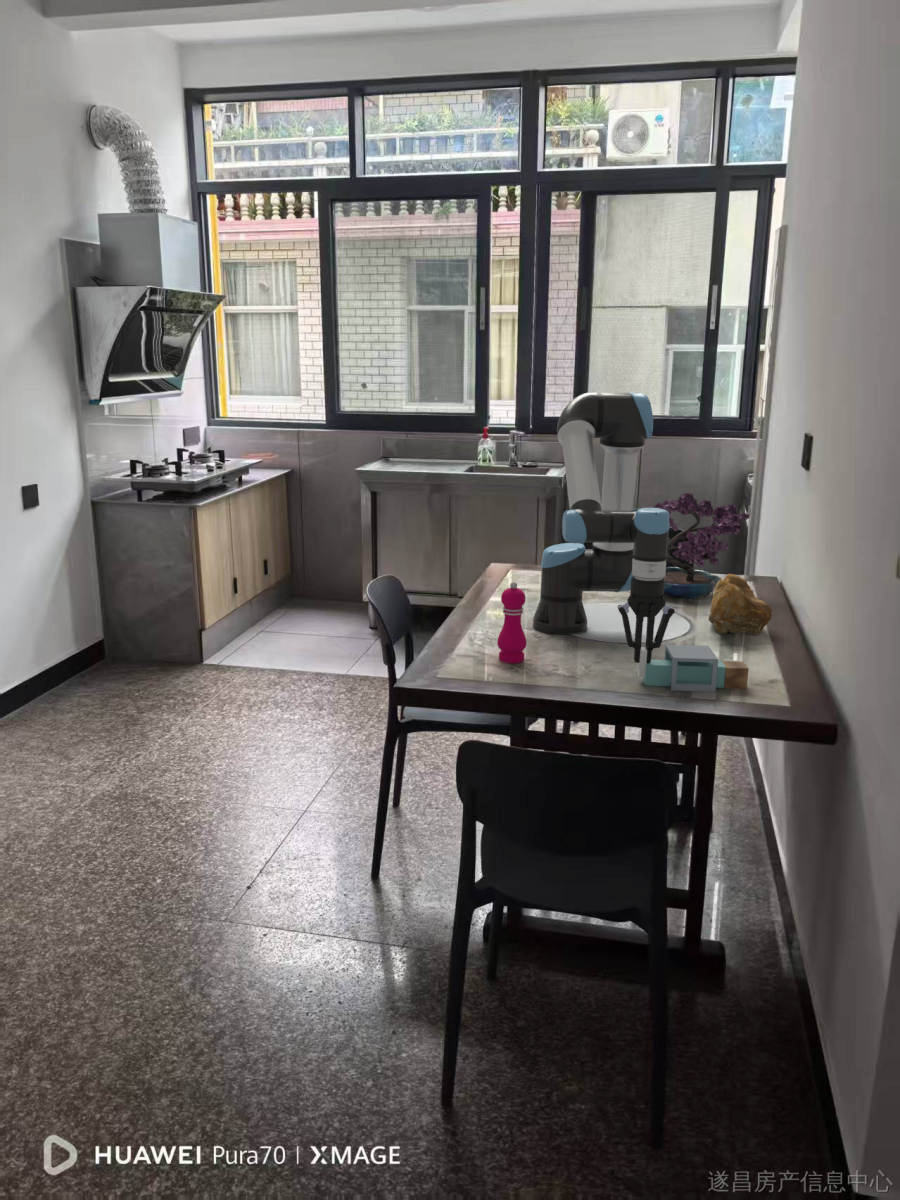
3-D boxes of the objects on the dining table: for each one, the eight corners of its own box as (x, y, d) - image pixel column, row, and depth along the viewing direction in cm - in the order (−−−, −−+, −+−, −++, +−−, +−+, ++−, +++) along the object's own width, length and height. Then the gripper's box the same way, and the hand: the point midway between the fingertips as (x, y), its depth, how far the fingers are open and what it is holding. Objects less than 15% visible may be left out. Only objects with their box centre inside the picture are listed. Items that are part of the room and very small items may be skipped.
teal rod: (645, 685, 211) (646, 664, 210) (642, 679, 215) (644, 659, 214) (724, 687, 210) (726, 667, 209) (720, 681, 214) (722, 661, 213)
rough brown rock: (762, 648, 243) (773, 594, 239) (700, 634, 249) (710, 582, 245) (771, 628, 263) (781, 578, 259) (713, 616, 269) (722, 568, 266)
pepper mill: (530, 663, 226) (533, 584, 221) (502, 665, 224) (504, 586, 219) (519, 654, 232) (522, 577, 227) (492, 656, 230) (494, 579, 225)
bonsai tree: (634, 600, 286) (641, 497, 278) (630, 580, 312) (636, 485, 304) (750, 605, 282) (760, 500, 273) (735, 584, 308) (744, 488, 299)
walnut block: (724, 688, 210) (726, 667, 209) (719, 681, 215) (721, 660, 213) (746, 689, 210) (748, 668, 208) (740, 681, 215) (742, 661, 213)
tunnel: (670, 690, 208) (673, 657, 206) (663, 675, 218) (665, 644, 216) (715, 691, 208) (718, 659, 206) (705, 676, 217) (708, 645, 215)
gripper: (621, 580, 203) (615, 680, 209) (680, 581, 203) (672, 682, 209) (617, 572, 211) (611, 669, 217) (674, 574, 210) (666, 671, 216)
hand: (641, 675), depth 213 cm, fingers closed
